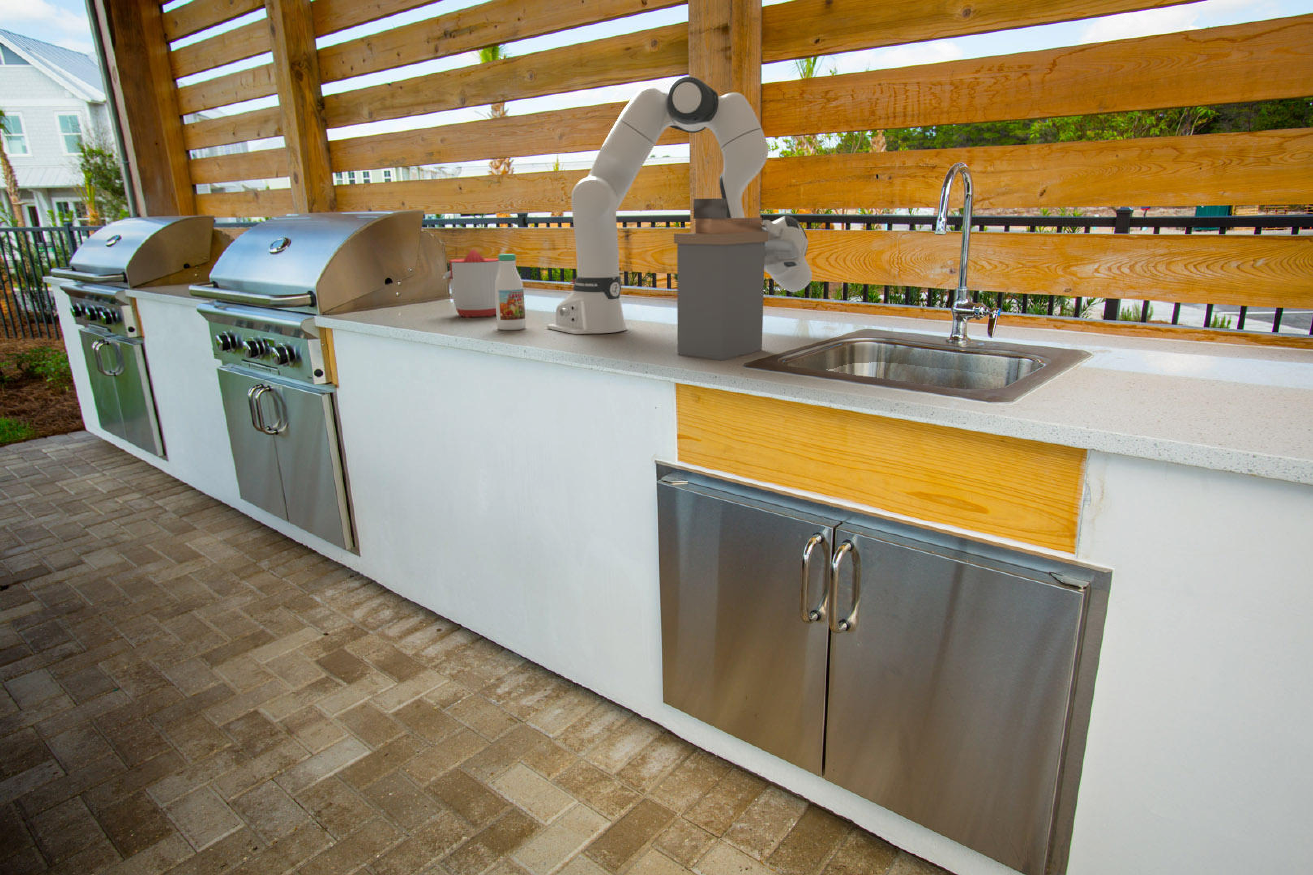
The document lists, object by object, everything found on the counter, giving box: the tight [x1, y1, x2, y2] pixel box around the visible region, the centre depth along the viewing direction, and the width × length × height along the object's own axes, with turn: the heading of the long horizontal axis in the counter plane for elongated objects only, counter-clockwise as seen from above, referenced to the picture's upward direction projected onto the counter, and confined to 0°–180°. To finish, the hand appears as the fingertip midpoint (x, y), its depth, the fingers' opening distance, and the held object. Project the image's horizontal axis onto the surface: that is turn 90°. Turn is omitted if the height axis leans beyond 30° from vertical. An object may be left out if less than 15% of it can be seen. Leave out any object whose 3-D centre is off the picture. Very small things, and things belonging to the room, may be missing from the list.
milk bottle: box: [495, 253, 527, 331], centre depth 208 cm, size 8×8×20 cm
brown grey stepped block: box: [693, 198, 763, 234], centre depth 166 cm, size 5×20×7 cm, turn 141°
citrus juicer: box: [442, 249, 500, 319], centre depth 235 cm, size 16×17×20 cm
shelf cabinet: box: [673, 232, 769, 361], centre depth 169 cm, size 13×17×26 cm
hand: (746, 222), depth 172 cm, fingers open, 8 cm apart
